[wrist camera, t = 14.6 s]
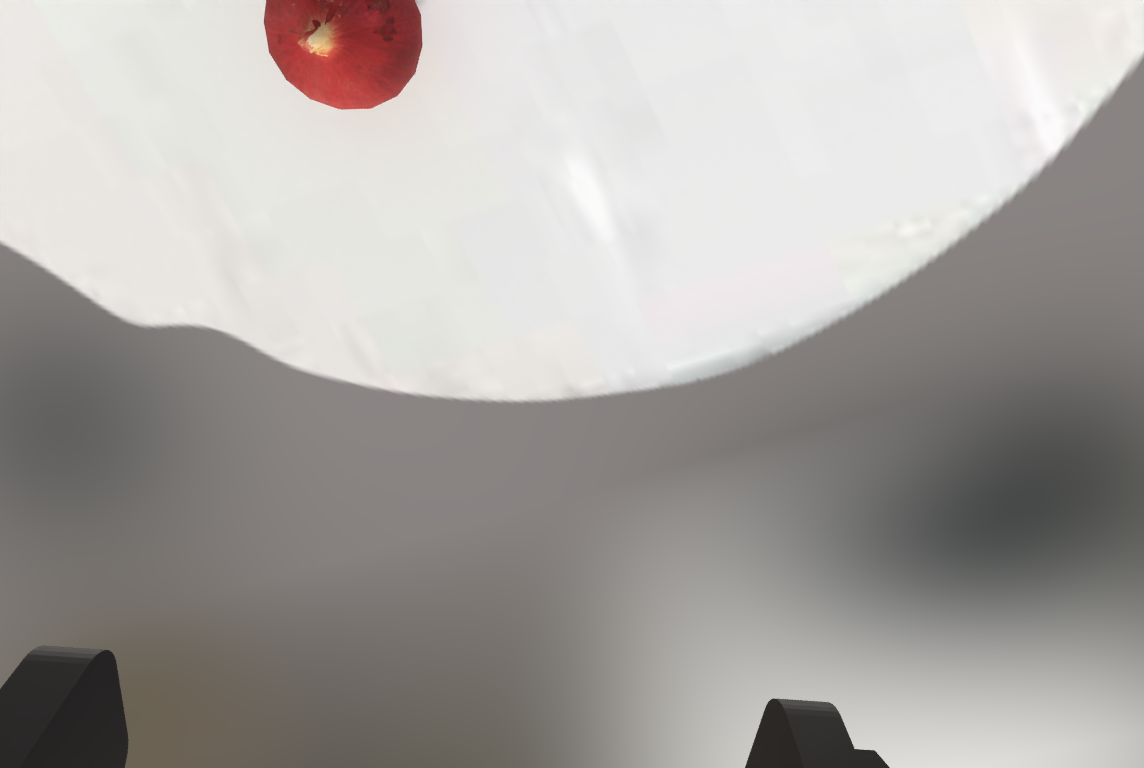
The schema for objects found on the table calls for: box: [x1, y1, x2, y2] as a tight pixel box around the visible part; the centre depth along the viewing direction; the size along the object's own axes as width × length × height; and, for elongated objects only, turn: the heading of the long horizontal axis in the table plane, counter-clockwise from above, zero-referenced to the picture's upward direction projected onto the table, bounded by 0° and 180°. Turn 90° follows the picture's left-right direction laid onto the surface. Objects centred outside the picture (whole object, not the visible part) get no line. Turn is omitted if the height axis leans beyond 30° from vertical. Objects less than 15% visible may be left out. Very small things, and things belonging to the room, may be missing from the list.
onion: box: [264, 0, 422, 109], centre depth 30 cm, size 6×6×8 cm
